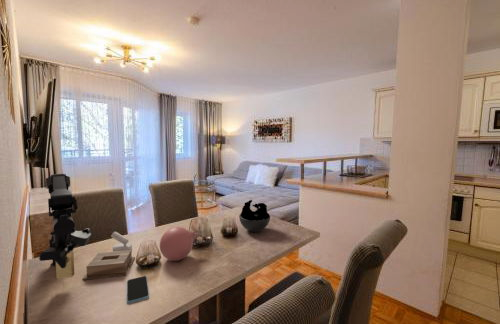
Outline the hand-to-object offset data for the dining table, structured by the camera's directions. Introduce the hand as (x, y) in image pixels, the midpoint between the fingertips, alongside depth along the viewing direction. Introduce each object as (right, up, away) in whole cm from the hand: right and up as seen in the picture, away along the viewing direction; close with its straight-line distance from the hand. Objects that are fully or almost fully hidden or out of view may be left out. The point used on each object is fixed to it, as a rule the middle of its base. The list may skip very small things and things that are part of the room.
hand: (65, 266), depth 88 cm
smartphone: (+28, -10, 0) cm, 29 cm away
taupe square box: (+9, -7, +14) cm, 18 cm away
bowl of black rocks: (+74, -5, +61) cm, 96 cm away
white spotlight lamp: (+4, -6, +31) cm, 32 cm away
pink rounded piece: (+37, -7, +25) cm, 45 cm away
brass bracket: (0, -4, 0) cm, 4 cm away
